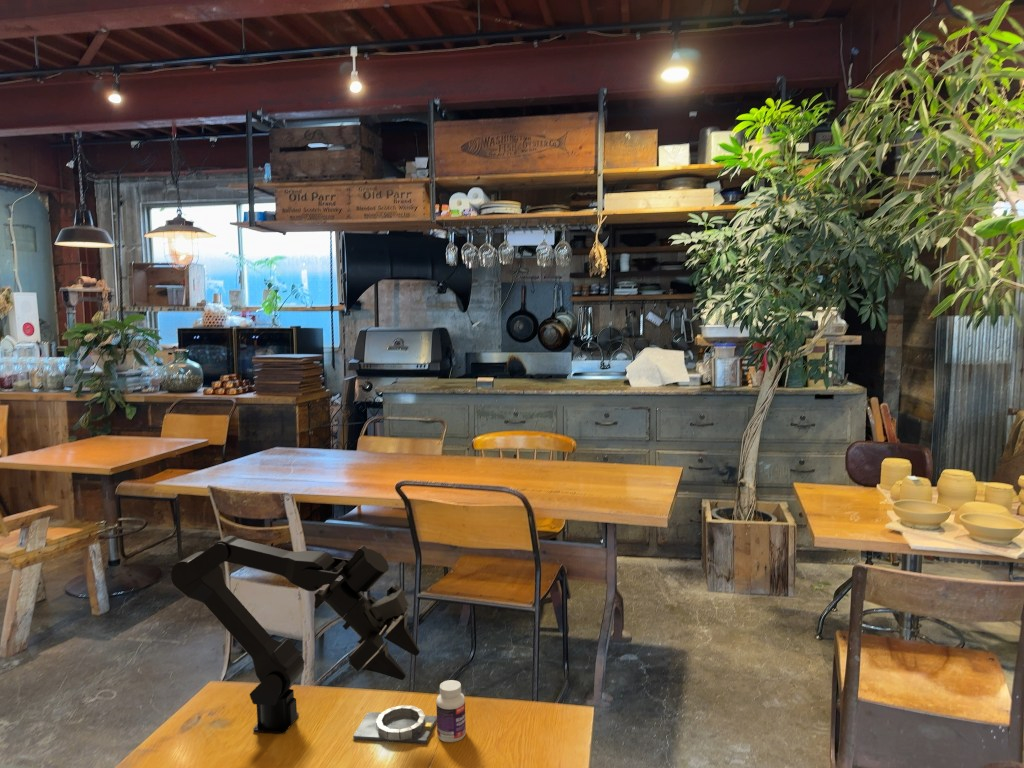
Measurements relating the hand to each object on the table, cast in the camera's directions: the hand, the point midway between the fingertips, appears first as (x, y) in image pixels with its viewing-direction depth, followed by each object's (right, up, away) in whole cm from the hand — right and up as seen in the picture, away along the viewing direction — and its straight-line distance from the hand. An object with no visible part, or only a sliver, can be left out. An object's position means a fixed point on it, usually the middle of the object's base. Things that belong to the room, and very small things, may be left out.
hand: (411, 665), depth 128 cm
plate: (-3, -13, +2) cm, 14 cm away
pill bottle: (+8, -13, 0) cm, 15 cm away
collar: (-2, -12, +2) cm, 12 cm away
